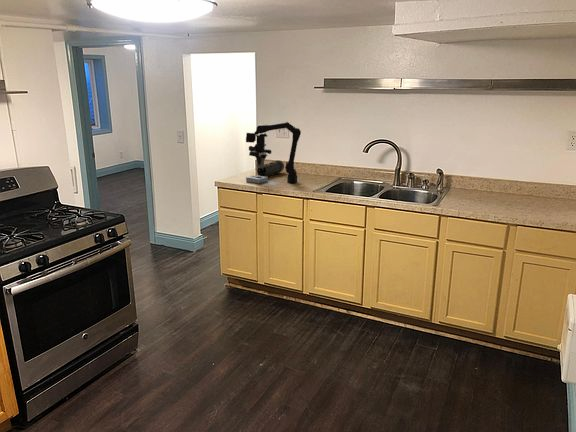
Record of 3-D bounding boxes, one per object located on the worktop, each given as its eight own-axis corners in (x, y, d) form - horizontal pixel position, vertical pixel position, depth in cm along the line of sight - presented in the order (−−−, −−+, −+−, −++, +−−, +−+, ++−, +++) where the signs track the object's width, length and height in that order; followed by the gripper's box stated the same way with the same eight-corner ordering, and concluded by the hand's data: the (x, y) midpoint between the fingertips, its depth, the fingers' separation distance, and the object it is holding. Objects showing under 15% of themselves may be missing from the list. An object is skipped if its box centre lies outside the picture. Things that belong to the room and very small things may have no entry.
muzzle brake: (256, 178, 361) (256, 164, 358) (275, 172, 384) (275, 159, 382) (267, 179, 356) (267, 165, 354) (285, 173, 380) (285, 160, 377)
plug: (263, 167, 340) (264, 158, 338) (261, 168, 338) (261, 158, 336) (259, 167, 342) (259, 157, 340) (256, 167, 340) (256, 157, 338)
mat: (280, 183, 341) (280, 182, 341) (273, 185, 334) (273, 185, 334) (270, 182, 346) (270, 181, 346) (263, 184, 339) (263, 183, 339)
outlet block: (267, 182, 345) (267, 177, 344) (259, 184, 337) (259, 179, 336) (255, 180, 352) (254, 175, 351) (246, 182, 344) (246, 177, 343)
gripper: (259, 140, 347) (259, 161, 351) (243, 142, 332) (243, 164, 336) (272, 142, 340) (271, 163, 345) (255, 144, 326) (255, 166, 330)
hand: (260, 164), depth 339 cm, fingers closed on plug, 3 cm apart
